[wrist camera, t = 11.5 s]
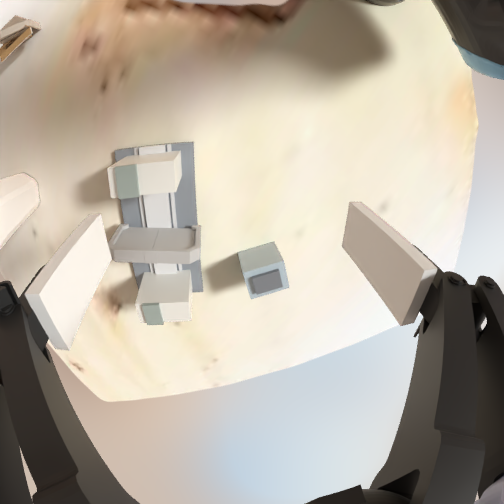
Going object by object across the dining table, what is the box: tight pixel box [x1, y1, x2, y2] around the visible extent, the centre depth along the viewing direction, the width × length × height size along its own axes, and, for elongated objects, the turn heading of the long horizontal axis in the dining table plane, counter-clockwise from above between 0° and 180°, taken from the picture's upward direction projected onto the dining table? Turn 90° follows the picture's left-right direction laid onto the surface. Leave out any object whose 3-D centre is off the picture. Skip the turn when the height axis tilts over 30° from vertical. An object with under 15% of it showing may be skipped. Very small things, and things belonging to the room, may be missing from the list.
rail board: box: [115, 142, 203, 292], centre depth 38 cm, size 24×11×2 cm, turn 179°
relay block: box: [238, 242, 289, 299], centre depth 42 cm, size 5×6×7 cm
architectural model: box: [0, 15, 41, 62], centre depth 16 cm, size 3×7×7 cm, turn 111°
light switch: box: [108, 224, 201, 264], centre depth 34 cm, size 2×12×8 cm, turn 83°
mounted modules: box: [107, 150, 192, 325], centre depth 34 cm, size 22×8×8 cm, turn 179°
